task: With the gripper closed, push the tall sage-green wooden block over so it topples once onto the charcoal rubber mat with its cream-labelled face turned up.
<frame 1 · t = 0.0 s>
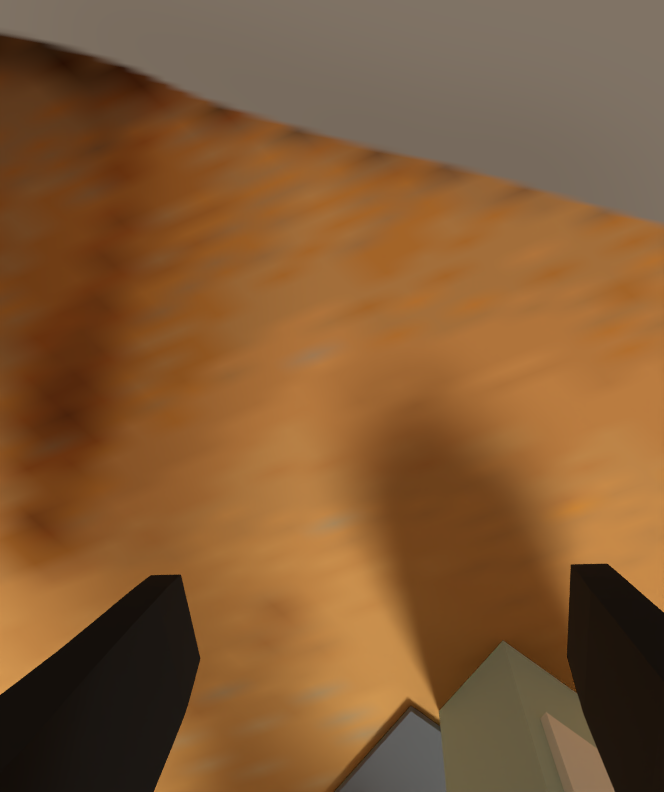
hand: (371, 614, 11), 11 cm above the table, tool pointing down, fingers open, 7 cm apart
sage block: (522, 713, 22), on the table
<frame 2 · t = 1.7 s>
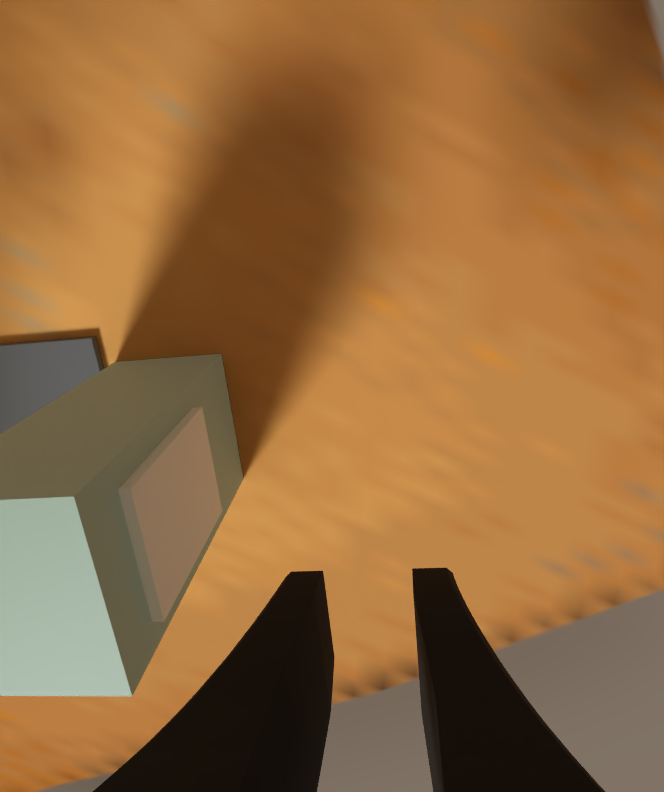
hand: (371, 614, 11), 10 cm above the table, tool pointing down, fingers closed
sage block: (181, 421, 21), on the table
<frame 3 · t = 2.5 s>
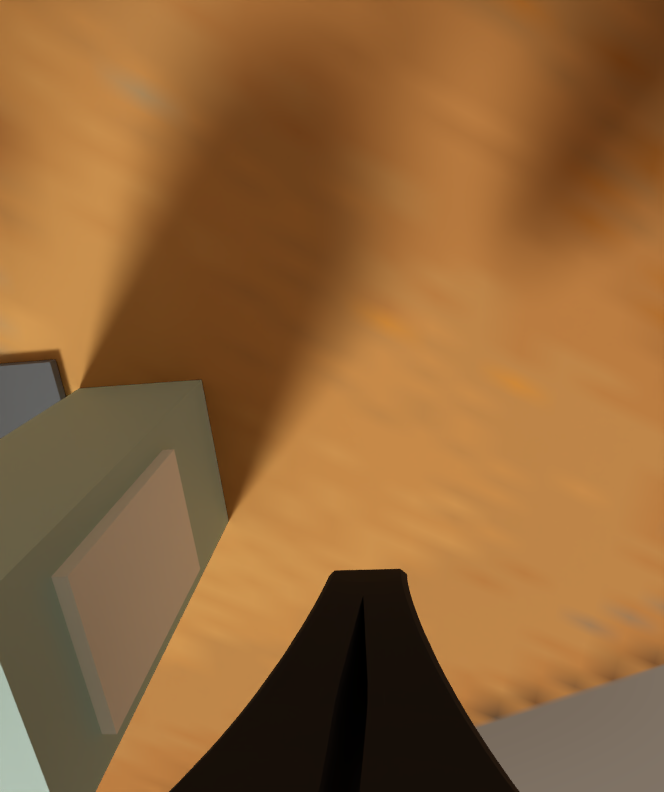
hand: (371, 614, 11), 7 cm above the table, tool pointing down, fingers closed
sage block: (156, 456, 18), on the table
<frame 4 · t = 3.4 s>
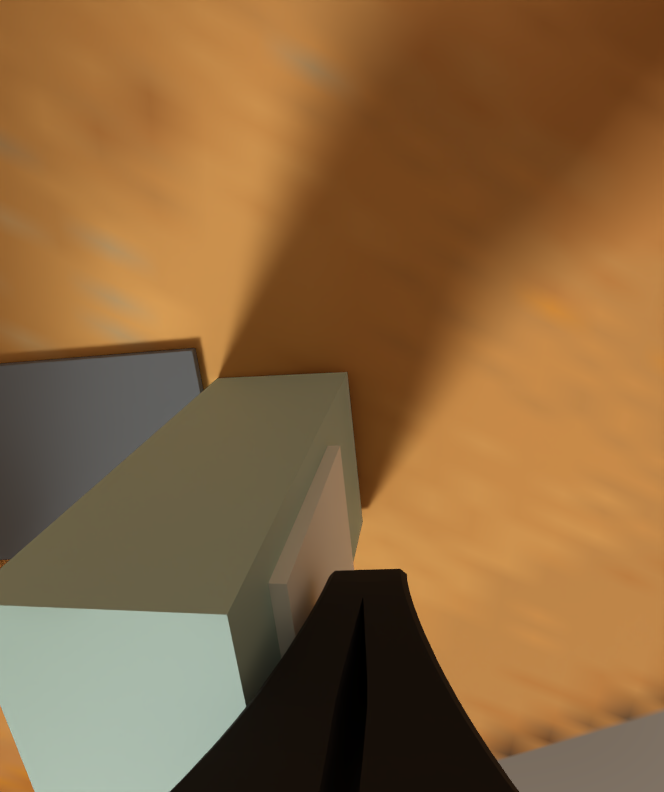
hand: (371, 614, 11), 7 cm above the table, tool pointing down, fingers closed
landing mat: (69, 461, 19), on the table
sage block: (291, 451, 18), on the table
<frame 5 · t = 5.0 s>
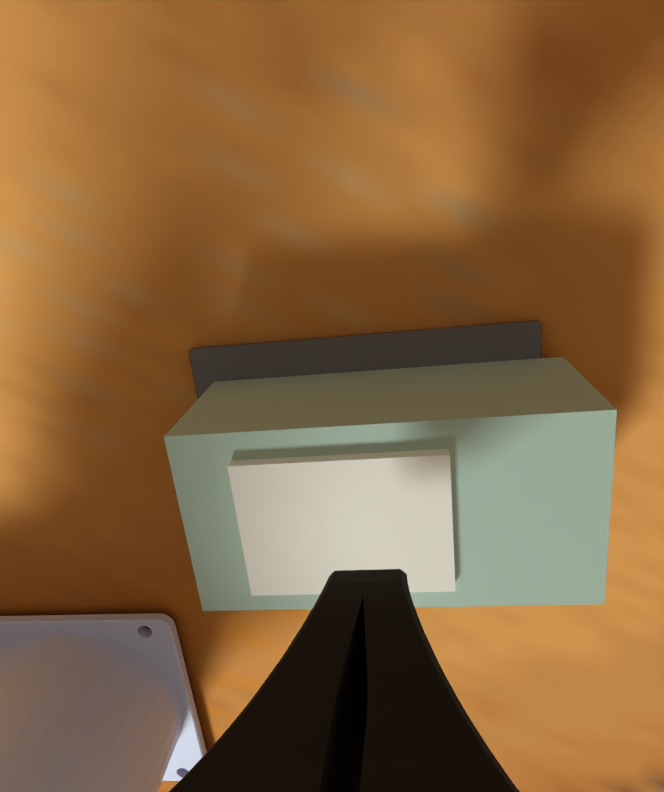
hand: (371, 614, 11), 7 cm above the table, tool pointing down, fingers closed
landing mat: (368, 445, 17), on the table
sage block: (582, 471, 15), point 2 cm above the table, tilted 90°, touching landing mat
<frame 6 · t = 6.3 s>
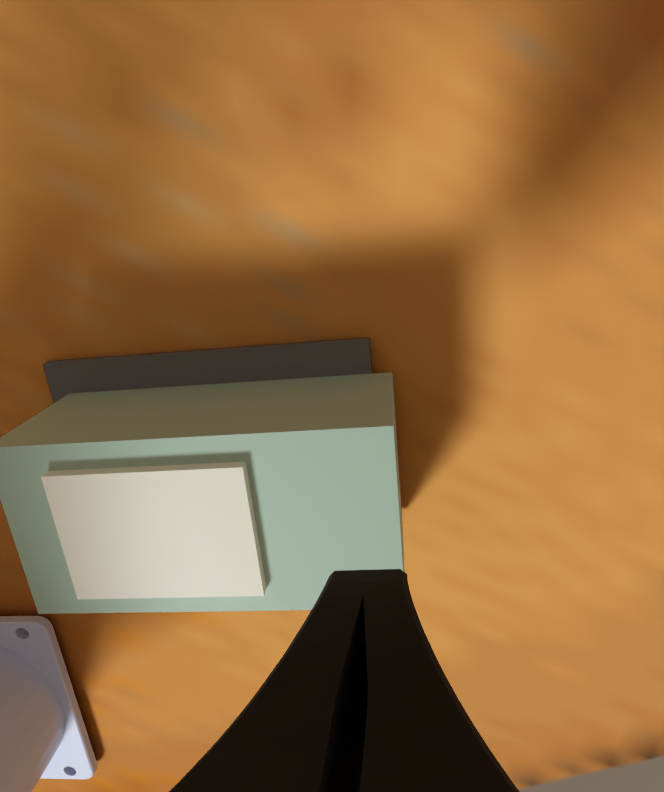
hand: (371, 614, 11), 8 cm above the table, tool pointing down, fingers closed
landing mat: (221, 455, 18), on the table
sage block: (398, 482, 15), point 2 cm above the table, tilted 90°, touching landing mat
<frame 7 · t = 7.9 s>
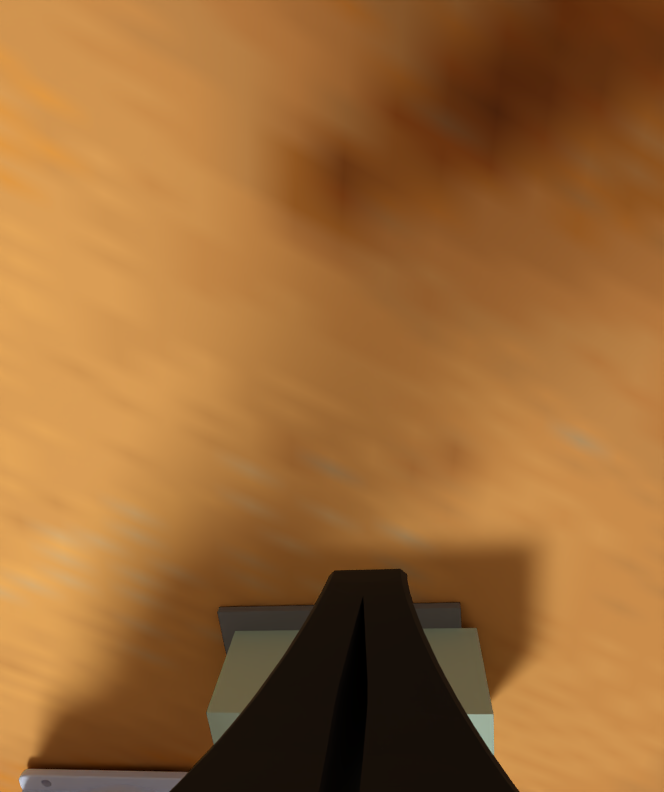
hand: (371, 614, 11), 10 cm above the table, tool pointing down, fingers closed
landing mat: (344, 670, 25), on the table
sage block: (485, 718, 22), point 2 cm above the table, tilted 90°, touching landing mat
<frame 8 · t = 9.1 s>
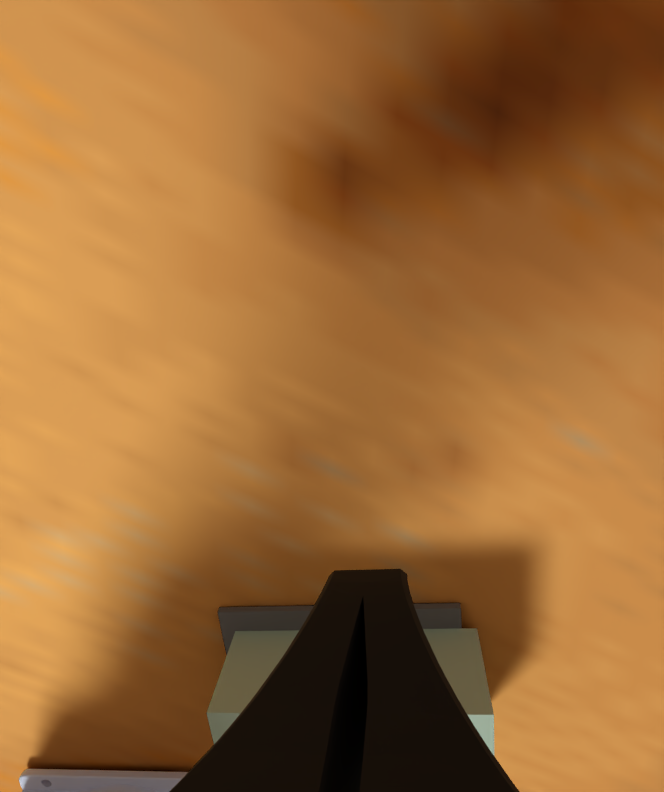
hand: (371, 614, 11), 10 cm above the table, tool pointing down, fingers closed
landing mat: (344, 671, 25), on the table
sage block: (485, 718, 22), point 2 cm above the table, tilted 90°, touching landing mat
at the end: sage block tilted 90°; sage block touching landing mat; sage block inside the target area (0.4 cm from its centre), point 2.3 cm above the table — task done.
